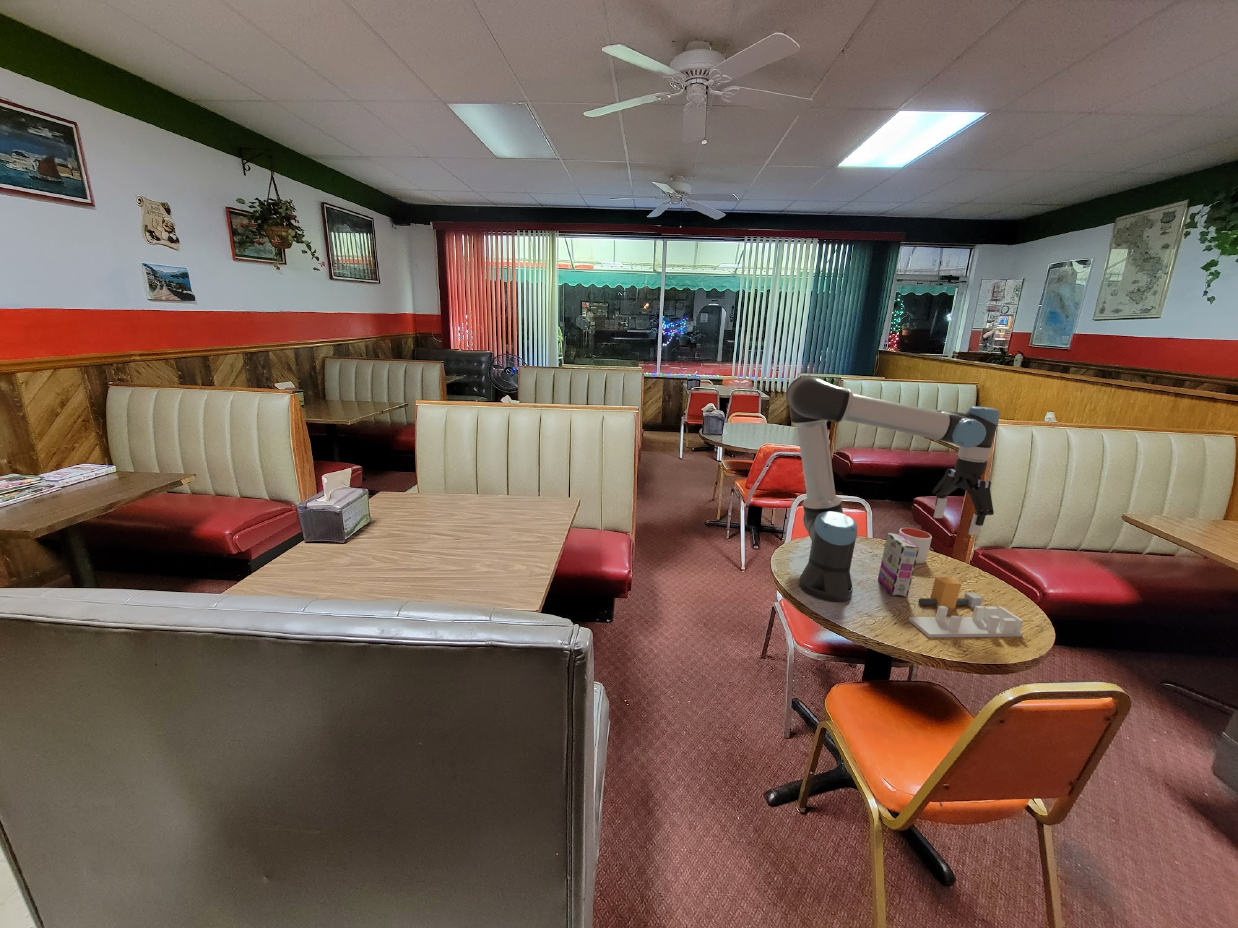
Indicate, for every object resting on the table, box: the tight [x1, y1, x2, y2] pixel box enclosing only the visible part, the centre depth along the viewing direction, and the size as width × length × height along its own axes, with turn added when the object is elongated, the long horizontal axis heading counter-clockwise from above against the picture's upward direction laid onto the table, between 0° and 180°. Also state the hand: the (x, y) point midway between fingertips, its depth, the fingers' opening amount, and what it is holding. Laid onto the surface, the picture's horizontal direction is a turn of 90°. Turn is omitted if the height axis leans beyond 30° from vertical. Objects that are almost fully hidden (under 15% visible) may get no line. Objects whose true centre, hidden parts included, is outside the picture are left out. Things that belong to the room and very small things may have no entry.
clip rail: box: [908, 605, 1024, 639], centre depth 132 cm, size 27×8×5 cm, turn 95°
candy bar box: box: [877, 532, 919, 598], centre depth 151 cm, size 11×5×16 cm, turn 174°
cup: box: [898, 527, 933, 565], centre depth 175 cm, size 10×10×10 cm
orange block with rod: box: [918, 576, 984, 609], centre depth 144 cm, size 18×4×8 cm, turn 95°
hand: (954, 525), depth 150 cm, fingers open, 13 cm apart
